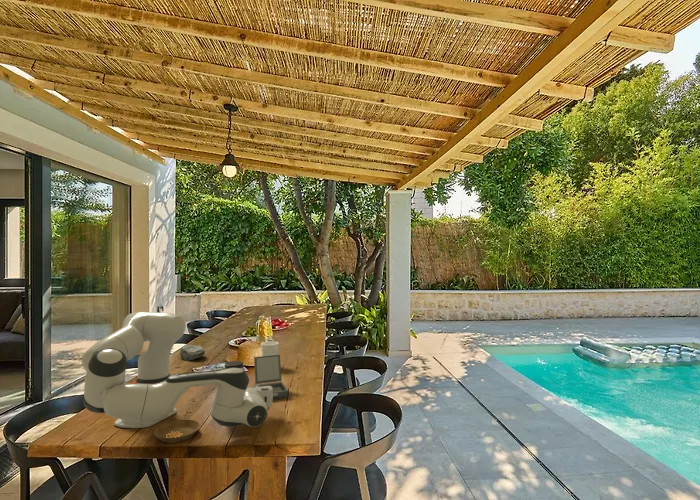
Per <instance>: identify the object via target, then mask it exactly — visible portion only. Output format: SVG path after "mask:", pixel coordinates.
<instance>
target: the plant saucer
mask: <svg viewBox="0 0 700 500" xmlns="http://www.w3.org/2000/svg"><path fill="white" fill-rule="evenodd" d="M200 427H201V424H200V423H199V421H197V420H193V419H186V418H185V419H177V420H175V419H174V420H171V421H167V422H164V423H162V424H160V425H158V426H157V427H155V428H154V430H153V435H154V437H155V438H157V439H158V440H159V441H161V442H163V443H179V442H182V441H183V442H184V441H185V440H188V439H190V438H191V437H193V436H194V435H195V434H196V432H197V431H198V430H199V429H200ZM171 431H173V432H174V431H175V432H176V431H180V433H183V435H181V436H180V437H176V438H174V437H172V438H170V437H169V435H167V436H168V437H169V438H166V434H168V433H171Z"/></svg>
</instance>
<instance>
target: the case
mask: <svg viewBox="0 0 700 500" xmlns="http://www.w3.org/2000/svg"><path fill="white" fill-rule="evenodd" d="M253 386H259V387H262V386H272V388H273V401H274V400H280V399H289V393H290V392H289V389H288V388H287V387H286V386H285V384H284V383H283V382H282V381H277V382H269V383H261V384H255V383H254V385H253Z"/></svg>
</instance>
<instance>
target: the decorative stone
mask: <svg viewBox="0 0 700 500" xmlns="http://www.w3.org/2000/svg"><path fill="white" fill-rule="evenodd" d="M205 354H206V350H205V349H204V347H203V346H201V345H192V344H185V345H183V346H182V347H181V348H180V351H179V356H180V359H182V360H184V361H192V360H195V359H199V358H202V357H204V356H205Z"/></svg>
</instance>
